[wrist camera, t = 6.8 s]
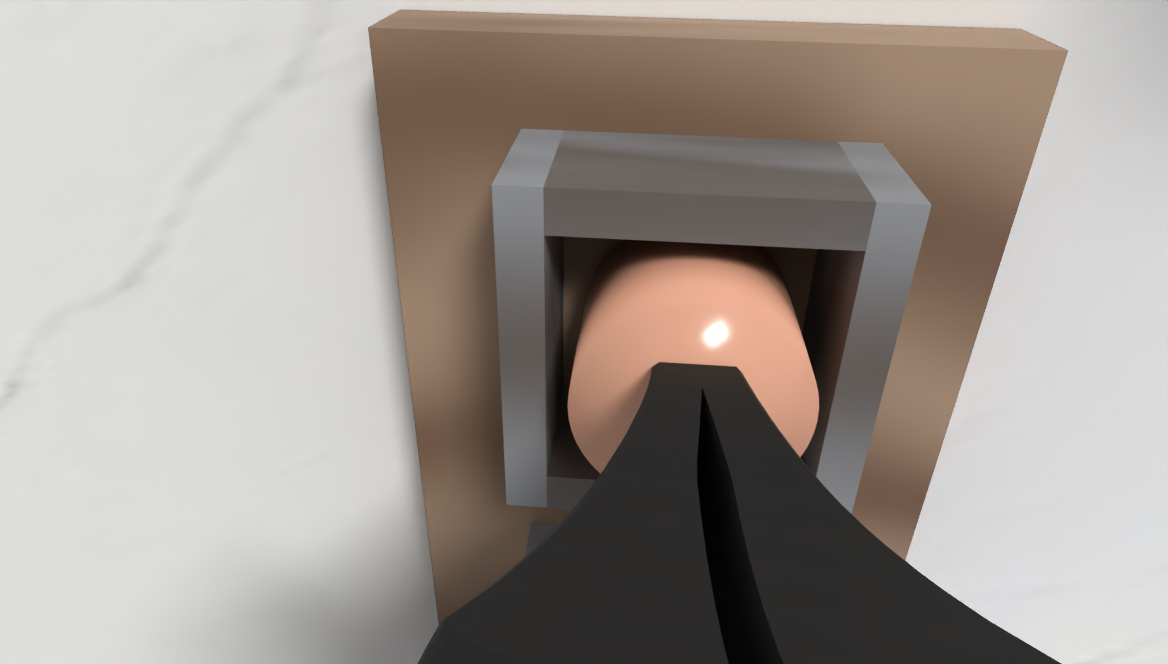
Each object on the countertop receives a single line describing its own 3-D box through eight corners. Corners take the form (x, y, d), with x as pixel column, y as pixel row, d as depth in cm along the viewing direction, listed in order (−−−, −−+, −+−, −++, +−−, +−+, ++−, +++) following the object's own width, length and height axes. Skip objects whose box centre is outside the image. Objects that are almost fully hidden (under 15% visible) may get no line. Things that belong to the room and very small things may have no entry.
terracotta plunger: (774, 404, 16) (798, 513, 14) (582, 392, 16) (566, 497, 14) (805, 225, 14) (841, 311, 11) (585, 214, 14) (567, 297, 12)
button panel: (832, 687, 25) (867, 856, 21) (463, 657, 26) (424, 813, 22) (1021, 29, 15) (1166, 95, 11) (399, 9, 16) (301, 64, 11)
